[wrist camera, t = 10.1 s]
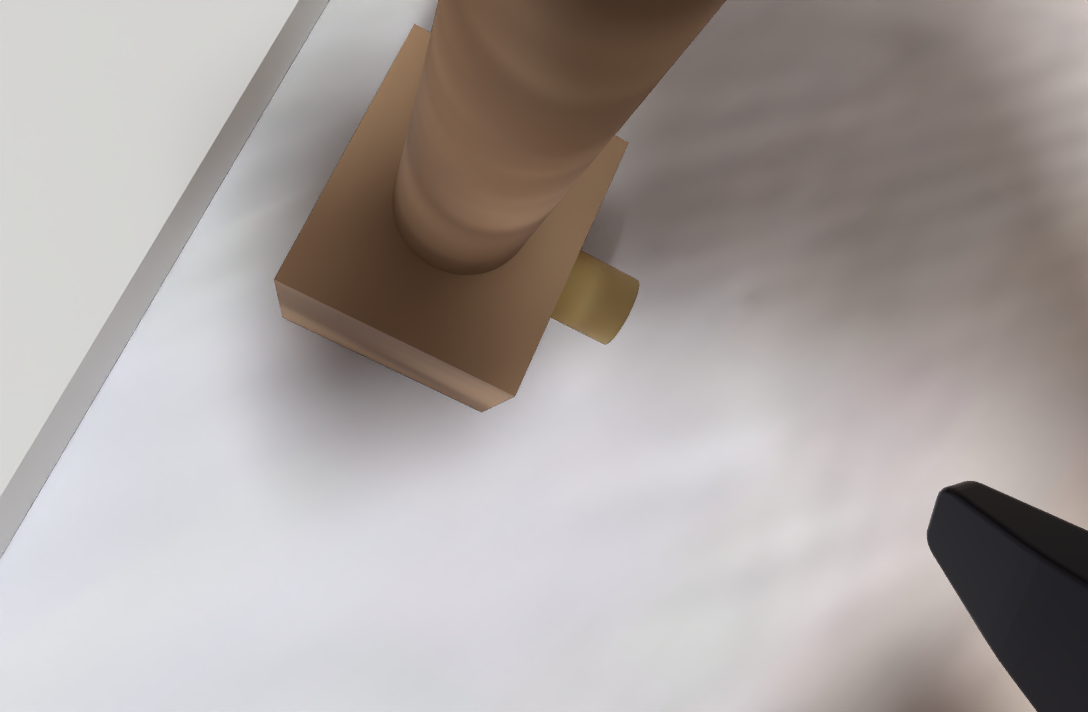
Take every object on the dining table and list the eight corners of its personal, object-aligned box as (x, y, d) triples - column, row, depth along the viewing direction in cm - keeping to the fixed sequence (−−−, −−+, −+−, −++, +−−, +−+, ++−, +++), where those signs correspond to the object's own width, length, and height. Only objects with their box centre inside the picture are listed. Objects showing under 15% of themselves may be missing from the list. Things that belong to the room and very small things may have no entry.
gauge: (634, 227, 21) (1076, -143, 9) (541, 440, 20) (916, 358, 7) (399, 101, 20) (524, -526, 8) (282, 317, 19) (202, -29, 6)
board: (460, -224, 22) (474, -292, 20) (-62, 662, 16) (-114, 685, 14) (209, -379, 21) (198, -467, 19) (-455, 513, 15) (-570, 517, 13)
